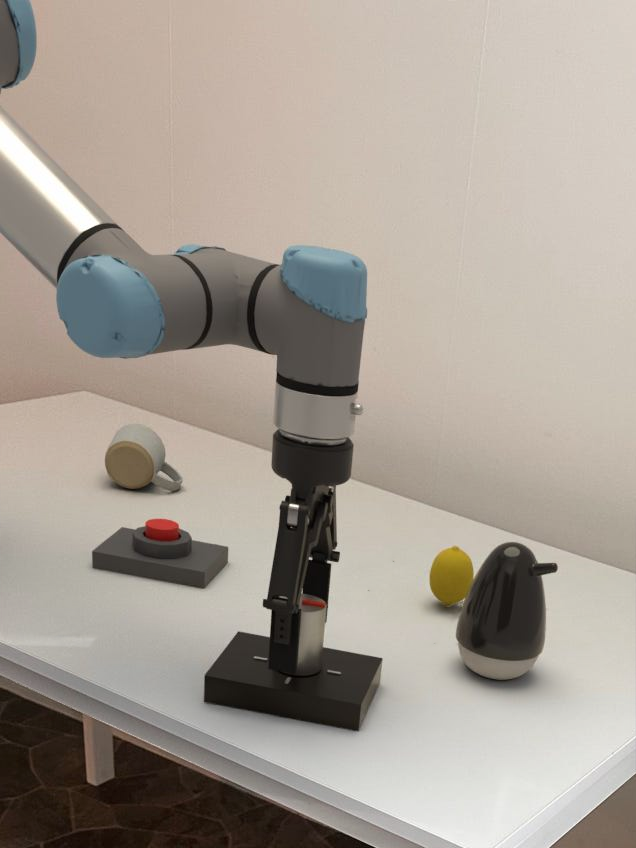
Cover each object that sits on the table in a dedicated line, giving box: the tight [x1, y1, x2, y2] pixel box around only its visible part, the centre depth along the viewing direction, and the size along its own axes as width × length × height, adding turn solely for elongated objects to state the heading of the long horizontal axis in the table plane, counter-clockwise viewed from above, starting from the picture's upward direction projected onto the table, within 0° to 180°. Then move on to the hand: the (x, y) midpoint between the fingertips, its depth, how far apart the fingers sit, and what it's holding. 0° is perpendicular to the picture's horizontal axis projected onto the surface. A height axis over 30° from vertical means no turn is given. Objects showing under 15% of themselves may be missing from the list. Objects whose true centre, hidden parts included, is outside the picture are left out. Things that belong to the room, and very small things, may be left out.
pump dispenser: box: [455, 541, 559, 681], centre depth 133 cm, size 10×10×15 cm
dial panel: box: [203, 630, 384, 732], centre depth 124 cm, size 16×12×3 cm
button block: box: [91, 525, 229, 589], centre depth 147 cm, size 14×10×4 cm
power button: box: [144, 518, 180, 541], centre depth 146 cm, size 4×4×2 cm
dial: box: [280, 593, 327, 676], centre depth 121 cm, size 5×5×7 cm
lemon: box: [429, 545, 475, 608], centre depth 149 cm, size 6×6×8 cm
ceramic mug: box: [104, 423, 184, 492], centre depth 172 cm, size 11×8×8 cm
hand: (298, 644), depth 122 cm, fingers open, 13 cm apart
